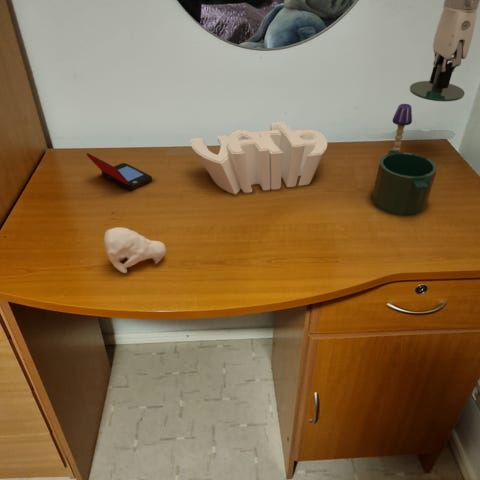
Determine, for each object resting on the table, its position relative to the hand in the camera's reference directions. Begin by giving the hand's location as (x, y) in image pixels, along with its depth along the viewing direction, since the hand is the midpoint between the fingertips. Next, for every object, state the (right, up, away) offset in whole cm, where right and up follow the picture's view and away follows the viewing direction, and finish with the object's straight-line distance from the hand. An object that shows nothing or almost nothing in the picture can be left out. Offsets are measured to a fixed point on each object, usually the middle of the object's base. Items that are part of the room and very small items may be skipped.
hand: (438, 84), depth 124 cm
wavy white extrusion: (-45, -23, +3) cm, 51 cm away
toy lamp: (-11, -20, +5) cm, 24 cm away
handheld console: (-81, -25, +1) cm, 85 cm away
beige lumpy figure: (-72, -49, -25) cm, 90 cm away
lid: (0, -1, +1) cm, 2 cm away
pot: (-13, -32, -7) cm, 35 cm away
